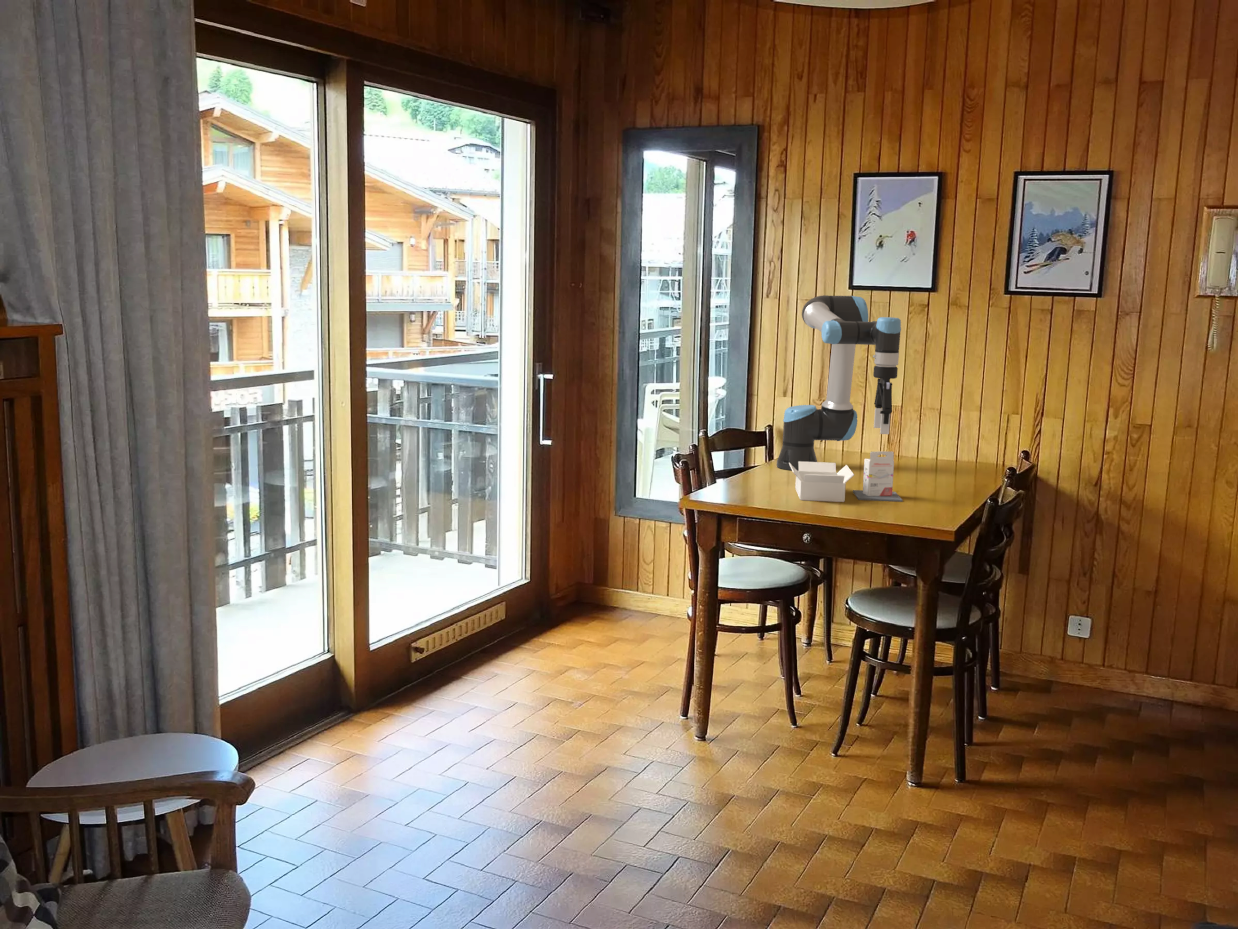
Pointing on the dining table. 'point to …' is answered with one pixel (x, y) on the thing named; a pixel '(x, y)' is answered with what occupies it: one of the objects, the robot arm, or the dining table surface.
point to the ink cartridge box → (878, 474)
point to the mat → (862, 496)
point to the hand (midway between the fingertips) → (881, 430)
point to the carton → (821, 481)
